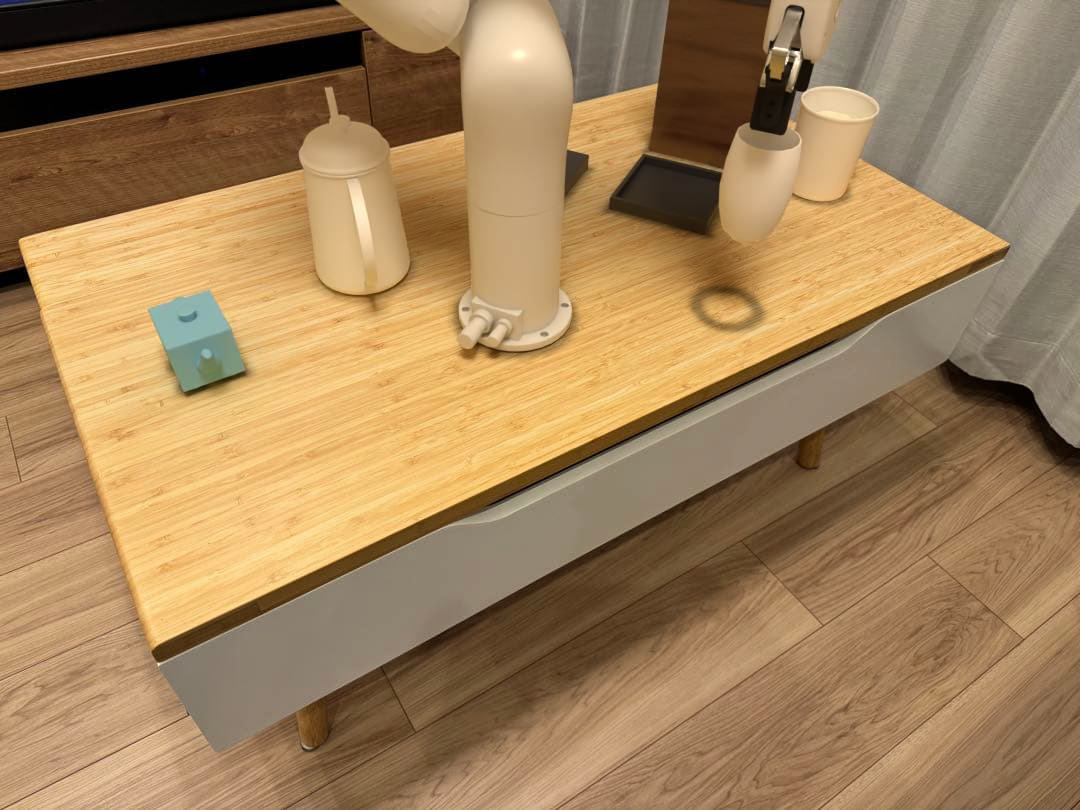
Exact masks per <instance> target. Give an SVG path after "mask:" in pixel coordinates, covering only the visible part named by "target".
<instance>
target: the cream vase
mask: <svg viewBox="0 0 1080 810" xmlns="http://www.w3.org/2000/svg"><path fill="white" fill-rule="evenodd" d="M749 125H750V123H746V124H744V125H742V126H740V127H739V128H738V130H737V132H736V134H735V137H734V139H733V142H732V145H731V147H730V150H729V152H728V155H727V158H726V161H725V165H724V168H722V172H723V173H722V177H721V181H720V188H719V210H718V211H719V212H718V213H719V220H720V225H721V228H722V230H723V231H724V232H725V233H726V234H727V235H729V236H730V237H731V238H732V240H733V241H735V242H737V243H739V244H743V245H750V244H754V243H756V242H757V241H761V240H766V239H767V238H768V237H770V236H771V235H772V234H773V232H774V231H775V229H776V228H777V226H778V225H779V224H780V222H781V221H782V218H783V216H784V215H785V212H786V210H787V208H788V206H789V203H790V202H791V200H792V196H793V195H794V193H793V190H794V186H795V182H796V177H797V173H798V169H799V163H800V155H801V146H802V139H801V137H800V135H799V133H797V132H796V131H795V129H793V128H792V127H790V126H787V130H786V132H785V134H784V135H775V134H771V133H766V132H761V131H756V130H752V129H751V128H750V126H749Z"/></svg>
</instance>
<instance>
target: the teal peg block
mask: <svg viewBox="0 0 1080 810" xmlns="http://www.w3.org/2000/svg"><path fill="white" fill-rule="evenodd" d="M147 312H148V314H149V316H150V319H151V321H152V323H153V326H154V328H155V331H156V333H157V335H158V338H159V340H160V343H161V345H162V346H163V347H162V348H163V349H164V351H165V354H166V356H167V358H168V361H169V363H170V365H171V368H172V369H173V371H174V374H175V376H176V377H177V380H178V383H179V385H180V387H181V390H182V391H183V393H186V392H188V391H191V390H197V389H198V388H200V387H202V386H205V385H208V384H211V383H214V382H216V381H219V380H222V379H225V378H228V377H233V376H235V375H237V374H240V373H241V372H245V371H246V368H245V365H244V363H243V358H242V357H241V353H240V350H239V347H238V344H237V341H236V339H235V335H234V332H233V329H232V328H231V326H230V323H229V321H228V320H227V319H226V316H225V315H224V313H223V311H222V309H221V307H220V305H219V304H218V302H217V300H216V299H215V297H214V295H213V293H212V291H211V289H207V290H204V291H201V292H197V293H194V294H191V295H187V296H178V297H174V298H173V300H172V301H167V302H165V303H162V304H158V305H155V306H152V307H148V308H147Z"/></svg>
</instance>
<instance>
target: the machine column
mask: <svg viewBox="0 0 1080 810" xmlns="http://www.w3.org/2000/svg"><path fill="white" fill-rule="evenodd" d="M770 5H771V0H668V6H667V14H666V15H667V16H666V19H665V20H666V21H665V28H664V36H663V44H662V52H661V58H660V66H659V71H658V73H659V74H658V81H657V88H656V96H655V102H654V110H653V118H652V125H651V131H650V132H651V133H650V141H649V148H648V151H649V152H653V153H657V154H661V155H665V156H669V157H672V158H673V157H674V158H678V159H681V160H686V161H691V162H695V163H699V164H703V165H707V166H711V167H716V168H719V169H724V165H725V161H726V158H727V155H728V152H729V150H730V147H731V145H732V142H733V139H734V137H735V134H736V132H737V130H738V128H739V127H740V126H742V125H744V124H746V123H750V120H751V115H752V111H753V106H754V102H755V97H756V92H757V88H758V84H759V82H760V80H761V77H762V73H763V70H764V67H765V64H766V61H767V58H768V55H767V54H766V53H765V51H764V50H763V43H764V36H765V30H766V25H767V20H768V15H769V10H770Z"/></svg>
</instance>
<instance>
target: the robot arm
mask: <svg viewBox="0 0 1080 810" xmlns="http://www.w3.org/2000/svg"><path fill="white" fill-rule="evenodd" d="M335 1H336V2H337V3H339V4H340V5H341V6H342V7H343V8H345V9H346V10H348V11H349V12H350V13H351V14H352V15H354V16H356V18H358V19H359V20H360V21H362V22H363V23H364V24H365V25H367V26H368V27H369V28H370V29H372V30H373V31H374V32H375V33H377V35H379V36H380V37H381V38H383V39H384V40H385V41H387V42H388V43H390V44H392V45H394V46H396V47H398V48H399V49H401V50H403V51H407V52H410V53H414V54H430V53H435V52H438V51H440V50H442V49H444V48H445V47H446V48H448V49H449V50H450V51H452V52H453V53H454V54H455V55H457V56H458V57H459V69H460V70H459V71H460V97H461V98H460V99H461V112H462V113H461V114H462V127H463V143H464V167H465V186H466V188H465V189H466V199H467V219H468V221H467V222H468V241H469V260H470V262H469V263H470V281H471V282H470V283H471V287H469V288H468V289H467V290H466V291H465V293H464V294H463V295H462V297H461V298H460V300H459V302H458V308H457V309H458V319H459V323H460V326H461V328H462V330H461V331H460V333H459V334H458V335H457V336H456V341H457V343H458V345H459V346H460V347H462V348H464V349H466V350H472V349H473V348H474V346H475V345H476V344H477V343H479V344H481V345H483V346H485V347H488V348H491V349H495V350H497V351H504V352H526V351H533V350H537V349H541V348H544V347H545V346H546V347H547V346H548V345H551V344H552V343H554V342H556V341H557V340H559V339H561V338H562V337H563V336H564V334H566V332H567V331H568V329H569V328H570V326H571V323H572V319H573V305H572V302H571V299H570V297H569V296H568V295H567V293H566V292H565V291H564V290H563V289H562V288H561V285H560V283H561V267H562V266H561V264H562V248H563V247H562V246H563V228H564V227H563V225H564V210H565V197H564V186H565V169H566V155H567V150H568V145H569V137H570V131H571V123H572V117H573V111H574V94H575V93H574V92H575V91H574V76H573V75H574V74H573V69H572V64H571V59H570V55H569V52H568V51H569V50H568V48H567V44H566V41H565V38H564V35H563V33H562V30H561V26H560V23H559V20H558V17H557V15H556V12H555V10H554V8H553V6H552V5H551V2H550V1H549V0H335ZM843 3H844V0H771V5H770V10H769V15H768V20H767V25H766V30H765V36H764V43H763V50H764V51H765V53H766V54H767V55H768V58H767V61H766V64H765V67H764V70H763V73H762V77H761V80H760V82H759V84H758V88H757V92H756V97H755V102H754V106H753V111H752V115H751V120H750V125H749V126H750V128H751V129H752V130H756V131H761V132H766V133H771V134H775V135H784V134H785V132H786V130H787V127H789V122H790V118H791V115H792V111H793V107H794V103H795V98H796V95H797V92H800V93H804V92H805V91H807V90H808V88H809V85H810V81H811V78H812V75H813V71H814V67H815V64H817V62H819V61H821V60H822V58H823V57H824V55H825V53H826V52H827V49H828V47H829V45H830V43H831V42H832V39H833V37H834V35H835V33H836V30H837V27H838V22H839V19H840V15H841V10H842V6H843Z"/></svg>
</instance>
